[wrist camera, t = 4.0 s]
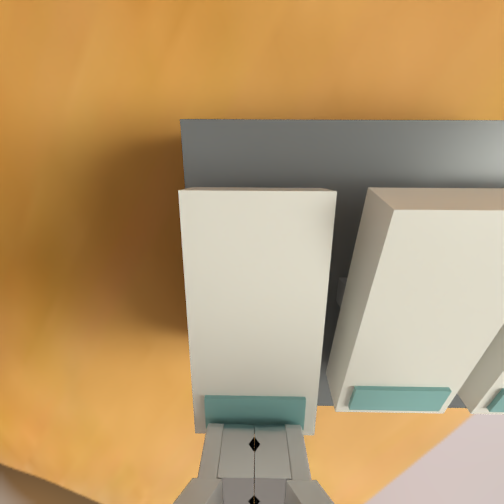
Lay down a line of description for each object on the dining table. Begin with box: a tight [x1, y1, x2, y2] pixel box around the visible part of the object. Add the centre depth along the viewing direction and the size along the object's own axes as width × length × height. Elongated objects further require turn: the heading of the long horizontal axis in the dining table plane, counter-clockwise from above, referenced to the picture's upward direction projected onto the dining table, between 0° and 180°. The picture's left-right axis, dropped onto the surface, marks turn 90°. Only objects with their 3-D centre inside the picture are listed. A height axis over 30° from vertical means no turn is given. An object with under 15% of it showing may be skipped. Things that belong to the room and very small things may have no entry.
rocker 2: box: [326, 187, 504, 413], centre depth 9 cm, size 8×4×2 cm, turn 1°
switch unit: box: [180, 119, 504, 408], centre depth 12 cm, size 12×15×6 cm
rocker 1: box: [178, 187, 337, 435], centre depth 9 cm, size 8×4×2 cm, turn 179°
